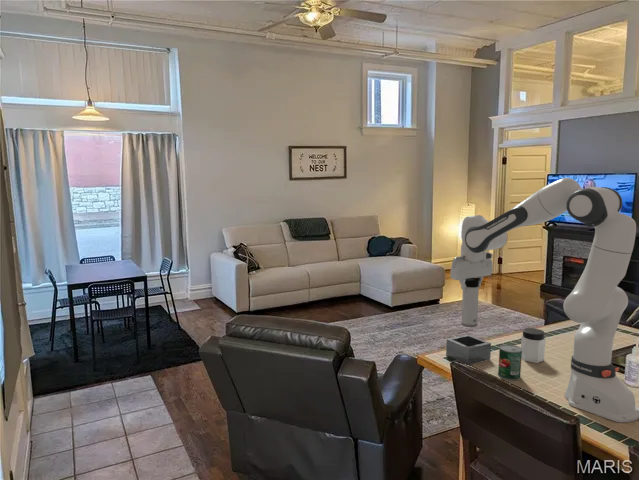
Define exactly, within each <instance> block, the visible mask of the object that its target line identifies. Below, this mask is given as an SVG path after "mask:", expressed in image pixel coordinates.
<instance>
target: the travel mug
mask: <svg viewBox="0 0 639 480" xmlns="http://www.w3.org/2000/svg"><path fill="white" fill-rule="evenodd" d="M479 280H480V278H477V277H475V278H468V279H465V285H467V289H465V290H463V289H462V297H461V298H462V301H461V305H462V306H461V325H462V327H466V328H476V327H477V326H478V317H479V315H478V313H479V291H480V287H479V285H478V284H479Z"/></svg>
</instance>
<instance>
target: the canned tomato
mask: <svg viewBox="0 0 639 480" xmlns="http://www.w3.org/2000/svg"><path fill="white" fill-rule="evenodd" d="M498 351H499V353H498V354H499V355H498V370H497V371H498V372H497V375H498V377H499V378H502V379H503V380H508V381H517V380H520V379H521V372H522V371H521V369H522V358H521V355H522V349H521V346H520V347H519V346H517V345H514V344H501V345H500V346H499V350H498Z"/></svg>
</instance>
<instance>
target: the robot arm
mask: <svg viewBox="0 0 639 480" xmlns="http://www.w3.org/2000/svg"><path fill="white" fill-rule="evenodd" d="M622 208H623V198H622V196H621V194H620V193H619V192H618V191H617V190H615V189H613V188H611V187H607V186H606V187H604V186H601V187H600V186H591V187H585V188H583V187H581V185H580V184H579V182H577V181H576V180H575V179H573V178H570V177H562V178H561V179H558V180H556V181H555V180H554V181H553V182H551V183H548V184H547V185H546V186H543V187H542V188H540V189H538V190H537V191H535V192H534V193H532V194H531V195H530V196H528V197H526V198H525V199H524V200H522V201H521V202H519V203H518V204H517V205H515V206H513V207H512V208H511V209H509V210H508V211H506V212H504V213H502V214H500V215H499V216H497V217H495V218H494V219H492V220H490V221H489V220H487V219H486V218H485V216H483V215H479V214H477V215H476V214H475V215H469V216H465V217H464V218H463V220H462V223H461V224H462V225H461V233H460V234H461V235H460V238H461V245H460V256H455V257H454V258H453V260H451V261H452V262H451V266H450V267H451V268H450V273H449V274H450V278H451V280H455V281H459V283H460V286H461V287H460V288H461V290H462V291H463V290H465V289H467V285H465V279H468V278H480V280H479V284H478V285H479V288H481V286H482V285H481V284H482V282H483V280H484V277H487V276H489V277H490V276H491V275H492V273H493V267H494V266H493V260H492V259H493V256H494V255H493V253H491V252H488V251H492V250H498V249H501V248H503V247H504V246H505V245H506V244H507V241H508V232H510V231H512V230H514V229H518V228H521V227H528V226H533V225H539V224H543V223H546V222H549V221H552V220H554V219H555V218H557V217H559V216H561V215H562V214H565V212H567V213H568V215H569V216H570V217H571V218H573V219H574V220H576V221H577V222H580V223H581V224H582V223H583V225H585V226H587V227H589V228H594V237H593V241H592V244H591V247H590V251H589V254H588V258H587V262H586V265H585V267H584V270H583V272H582V274H581V275H580V276H579V277H580V278H579V279H578V281H577V283H576V284H575V286H574V288H573V289H572V291H571V292H570V293H569V294H568V295H567V296H566V298H564V301H563V306H562V307H563V311H564V313H565V315H566V317H567V318H569V320H571V322H572V321H573V322H575V323H578V324H580V325H579V328H578V329H577V330H576V331H575V334H574V339H573V353H572V356H571V359H570V360H571V361H570V370H571V371H570V378H569V381H568V384H567V387H566V390H565V392H564V396H565V398H566V399H567V401H568V405H569V406H571V407H573V408H577V409H580V410H582V411H586V412H588V413H589V414H590V413H591V414H593V415H596V416H599V417H601V418H604V419H607V420H610V421H612V422H615V423H631V422H635V421H637V420H638V419H639V406H637V405H636V399H635V394H634V392H633V391H632V390H630V388H629V387H628V386H627V385H626V384H625V383H624V382H623V381H622V380H621V379H620V378H619V377H618V376H617V374H616V372H619V371H620V370H619V369H620V367H615V366H614V365H613V362H612V354H613V345H614V339H615V335H616V333H617V331H618V330H617V329H618V327H619V324H620V320H621V317H622V315H623V313H624V311H625V310H626V308H627V307H628V306H629V305H628V304H629V297H628V295H627V293H626V292H625V290H624V289H623V288H621V287H619V286H618V285H619V284H620V283H621V281H622V280H623V279H624V278H625V277H626V274H627V270H628V267H629V265H630V261H631V257H632V253H633V250H634V247H635V241H636V235H637V222H636V221H635V220H634V219H633V218H632V217H631V216H630V215H627V214H624V213H620V211H621V210H622Z"/></svg>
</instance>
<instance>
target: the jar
mask: <svg viewBox="0 0 639 480" xmlns="http://www.w3.org/2000/svg"><path fill="white" fill-rule="evenodd" d="M545 334H546V333H545V331H543V330H542V329H539V328H534V327H533V328H531V327H526V328H524V329H522V335H521V341H520V343H521V344H520V348H521V349H522V355H521V359H522V360H524V361H525V362H529V363H534V364H538V363H541V362H544V361H545V351H546V338H545Z"/></svg>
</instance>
